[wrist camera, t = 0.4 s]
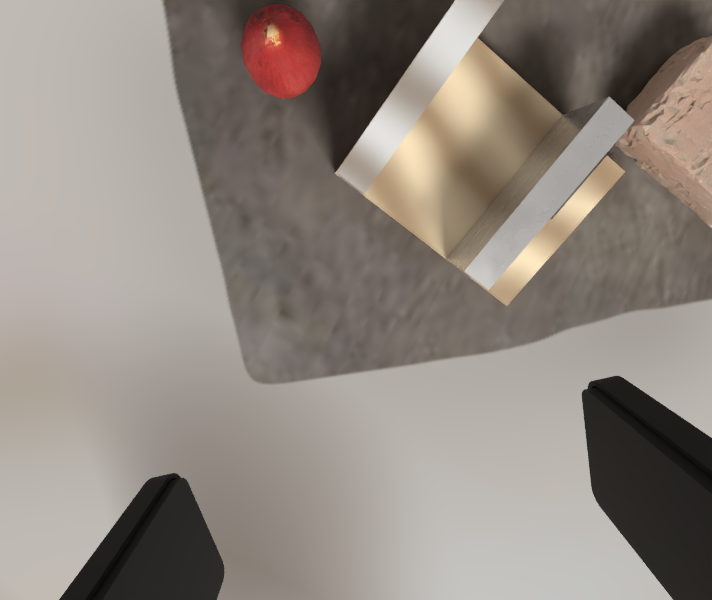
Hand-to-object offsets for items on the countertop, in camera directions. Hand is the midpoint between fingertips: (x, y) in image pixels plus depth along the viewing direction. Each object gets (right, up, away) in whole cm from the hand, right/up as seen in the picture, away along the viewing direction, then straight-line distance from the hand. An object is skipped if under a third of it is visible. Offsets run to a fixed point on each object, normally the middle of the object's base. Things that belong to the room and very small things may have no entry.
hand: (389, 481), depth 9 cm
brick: (+30, +18, +25) cm, 43 cm away
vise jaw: (+13, +13, +25) cm, 31 cm away
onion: (-6, +24, +23) cm, 34 cm away
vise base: (+10, +16, +25) cm, 31 cm away
